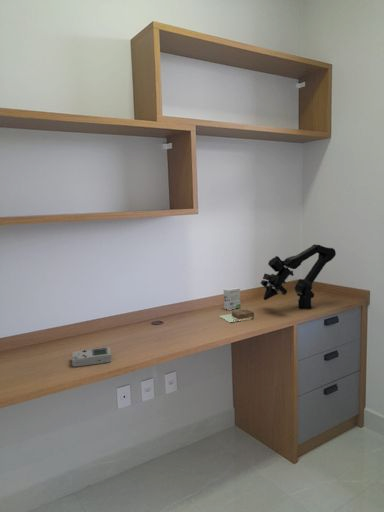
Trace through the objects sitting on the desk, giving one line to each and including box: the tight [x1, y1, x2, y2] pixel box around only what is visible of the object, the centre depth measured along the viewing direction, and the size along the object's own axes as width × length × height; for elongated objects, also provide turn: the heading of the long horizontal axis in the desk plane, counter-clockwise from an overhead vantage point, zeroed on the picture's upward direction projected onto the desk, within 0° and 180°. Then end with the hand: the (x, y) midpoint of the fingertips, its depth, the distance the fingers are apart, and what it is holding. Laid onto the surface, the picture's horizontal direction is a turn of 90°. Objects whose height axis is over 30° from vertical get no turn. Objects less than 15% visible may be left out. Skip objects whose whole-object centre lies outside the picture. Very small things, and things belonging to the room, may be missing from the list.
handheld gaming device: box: [71, 346, 112, 367], centre depth 151 cm, size 9×15×4 cm, turn 105°
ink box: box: [223, 287, 241, 311], centre depth 220 cm, size 8×5×12 cm, turn 121°
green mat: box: [218, 313, 244, 323], centre depth 201 cm, size 14×14×1 cm
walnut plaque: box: [231, 308, 255, 319], centre depth 202 cm, size 2×8×9 cm
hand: (264, 299), depth 206 cm, fingers closed
